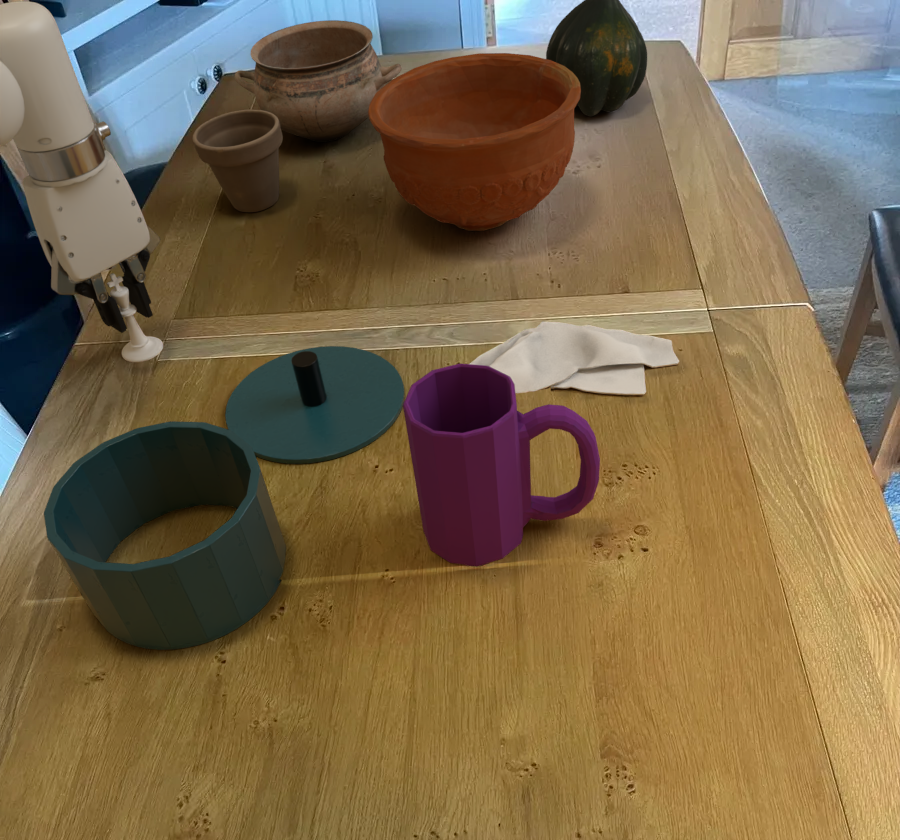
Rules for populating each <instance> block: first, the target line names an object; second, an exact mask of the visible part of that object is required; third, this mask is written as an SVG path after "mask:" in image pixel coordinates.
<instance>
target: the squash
mask: <svg viewBox="0 0 900 840" xmlns="http://www.w3.org/2000/svg"><path fill="white" fill-rule="evenodd" d="M545 59H548V60H551V61H554V62H556V63H558V64H561V65H563V66H565V67H566V68H568V69H569V70H570V71H572V72H573V73H574V75H575V76H576V77H577V78H578V80H579V82H580V88H581V93H580V100H579V101H578V103H577V105H576V107H578V108H579V110H580V112H581V113H582V114H584V115H585V116H588V117H594V116H596V115H598V114H599V113H600V112H601V111H604V112H606V113H607V112H608V113H609V112H614V111H615V110H618V109H619V108H620V107H622V106H623V105H624V103H625V101H628V100H629V99H630V98H632V97H633V96H635V95H636V94H637V92H638V91H639V89H640V87H641V86H642V85H643V83H644V80H645V77H646V73H647V68H648V49H647V45H646V41H645V39H644V37H643V34H642V33H641V31H640V28H639V27H638V24H637V23H636V22H635V20H634V18H633V17H632V15H631V14H630V13H629V11H628V10H627V9H626V8H625V7H624V5H623V4H622V3H621V1H620V0H583V1H581V2H580V3H579V4H577V5H575V7H574V8H573V9H571V11H569V13H567V14H566V15H565V16H564V17H563V18H562V19H561V21H560V22H559V23H558V25H556V27H555V29H554V31H553V33H552V34H551V37H550V38H549V41H548V45H547V48H546V52H545Z"/></svg>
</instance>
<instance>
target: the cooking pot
mask: <svg viewBox="0 0 900 840" xmlns="http://www.w3.org/2000/svg"><path fill="white" fill-rule="evenodd" d="M373 38H374V36H373V32H372V30H371V29H370V28H369V27H367V26H366V25H364V24H361V23H358V22H355V21H349V20H336V19H335V20H334V19H333V20H332V19H331V20H315V21H309V22H304V23H303V22H302V23H297V24H293V25H290V26H287V27H284V28H281V29H278V30H276V31H273V32H271V33H268V34H267V35H265V36H263V37H261V38H260V39H259V40H258V41H256V42H255V43H254V45H253V46H252V47H251V49H250V53H249V55H250V57H251V59H252V61H254V62H255V66H254V72H251V71H247V70H242V69H241V70H240V69H239V70H237V71H235V73H234V80H235V82H236V83H237V84H238V85H239V86H241V87H242V88H243V89H245V90H247V91H248V92H250V93H252V94H254V97H255V100H256V104H257V106H258V108H259V110H263V111H267V112H270V113H272V114H274V115H275V116H276V117H277V118H278V120H279V122H280V127H281V131H283V132H286V133H288V134H291V135H295V136H297V137H300V138H304V139H307V140H309V141H311V142H317V143H327V142H334V141H336V140H340V139H342V138H344V137H345V136H347V135H349V133H350V132H352V131H353V130H355V129H356V128H357V127H358V126H360V125H361V124H362V123H363V122H365V121H366V120H367V119H369V115H368V109H369V104H370V103H371V101H372V99H373V97H374V95H375V94H376V93H377V92H378V91H379V90H380V89H381V88H383V87H384V86H385V85H386V84H388V83H389V82H390V81H392V80H393V79H394V78H396V77H398V76H399V74H400V73H401V72H402V65H401V64H400V63H396V64H393V65H389V66H382V63H381V62H380V59H379V57H378V55H377V52H376V51H375V49H374V48H373V45H372V44H371V43H372V41H373ZM243 78H244V79H243ZM245 79H248V80H251V81H253V82H249V81H246V80H245Z"/></svg>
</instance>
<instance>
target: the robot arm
mask: <svg viewBox="0 0 900 840" xmlns="http://www.w3.org/2000/svg"><path fill="white" fill-rule="evenodd" d="M87 104H88V103H87V101H86V99H85V95H84V93H83V90H82V89H81V85H80V83H79V80H78V77H77V75H76V71H75V70H74V66H73V63H72V60H71V58H70V54H69V53H68V50H67V47H66V44H65V41H64V39H63V36H62V33H61V30H60V28H59V25H58V24H57V21H56V19H55V17H54V16H53V14H52V13H51V11H50V10H49V9H47V8H46V7H45V6H44V5H43V4H40V3H38V2H34V1H27V0H26V1H25V0H19V1H11V2H5V3H1V4H0V148H1V147H3V146H5V145H7V144H8V143H10V142H11V141H12V140H13V142H14V144H15V147H16V149H17V151H18V153H19V156H20V158H21V159H22V162H23V164H24V167H25V169H26V172H27V174H28V175H27V176H25V177H24V178H23V179H22V187H23V191H24V195H25V199H26V203H27V207H28V210H29V213H30V217H31V220H32V223H33V227H34V228H35V232H36V235H37V237H38V240H39V243H40V245H41V248H42V251H43V253H44V255H45V258H46V260H47V262H48V263H49V265H50V267H51V274H50V275H51V276H50V277H51V279H50V288H51V290H52V291H54V293H56V294H58V295H61V296H74V295H80V296H81V297H85V298H88V299H91V300H93V303H94V305H95V307H96V309H97V312H98V314H99V316H100V318H101V320H102V322H103V323H104V324H105V325H106V326H107V327H111V328H113V329H114V330H115V331H118V332H119V333H121V334H123V333H125V332H127V330H128V327H127V323H126V321H125V318H124V317H122V315H121V312H120V310H119V308H120V306H119V305H118V304H117V303H116V300H115V299H114V298H112V297H111V296H110V293H109V292H108V290H107V287H106V285H105V282H104V278H103V275H102V273H103V272H105V271H107V270H109V269H110V268H112V267H114V266H116V265H119V267H120V269H121V271H122V273H123V276H121V277H122V278H123V281H122V282H121V283H122V286H125V287H127V288H128V290H129V304H132V305H134V306H135V307H136V308H137V311H136V312H135V313H138V314H140V315H141V316H143V317H144V318H147V319H148V318H151V317H153V316H154V314H153V311H152V308H151V306H150V305H151V304H152V301H151V300H152V299H151V298H150V295H149V292H148V290H147V287H146V284H145V281H146V280H147V274H146V270H147V267H148V264H149V262H150V258H151V254H153V253H154V251H155V250H156V249H157V247H159V244H160V243H161V240H162V239H161V236H160V235H159V234H157V232H156V231H155V230H153V228H152V227H150V226H149V225H148V224H147V222H146V220H145V217H144V214H143V212H142V209H141V207H140V204H139V203H138V201H137V198H136V196H135V194H134V192H133V190H132V188H131V186H130V184H129V182H128V180H127V179H126V176H125V175H124V173H123V171H122V169H121V167H120V166H119V165H118V162H117V161H116V159H115V158H114V155H112V153H111V152H109V151H108V150H107V149H106V146H105V143H104V141H105V140H106V138H107V137H110V136H111V135H112V133H111V128H110V127H109V125H108V124H107V122H106V121H101V122H94V120H93V117H92V115H91V112H90V110H89V107H88V105H87Z"/></svg>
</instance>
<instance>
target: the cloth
mask: <svg viewBox="0 0 900 840" xmlns="http://www.w3.org/2000/svg"><path fill="white" fill-rule="evenodd" d="M469 364H473V365H486V366H490V367H492V368H494V369H496V370H498V371H500V372H502V373H504V374H506V375H508V376H510V377H511V379H512V381H513V383H514V384H515V394H523V393H528V392H537V391H542V390H544V389H546V388H549V387H550V389H565V390H566V389H570V388H572V389H575V390H579V391H581V392H586V393H587V392H588V393H595V394H604V395H619V396H644V395H645V394H646V393H647V388H646V374H645V366H647V367H648V368H649V367H650V368H652V369H655V368H656V369H657V368H663V367H669V366H676V365H679V364H680V360H679V358H678V356H677V355H676V353H675V351H674V347H673V341H672V339H668V338H663V337H659V336H655V335H649V334H639V333H633V332H630V331H627V330H624V329H617V328H616V329H615V328H614V329H613V328H603V327H600V326H595V325H592V324H584V325H583V324H582V325H577V324H573V323H568V322H559V321H541V322H540V323H539V324H538V325H537V326H535V327H529V328H524V329H522V330H521V331H519V332H518V333H516V334H514V335H512V336H511V337H510V338H508V339H506V340H505V341H504V342H502V343H500V344H498V345H496V346H494V347H492V348H491V349H488V350H487V351H485V352H483V353H480V355H478V356H477V357H475V358H474V359H473V360H472V361H470V362H469Z"/></svg>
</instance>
